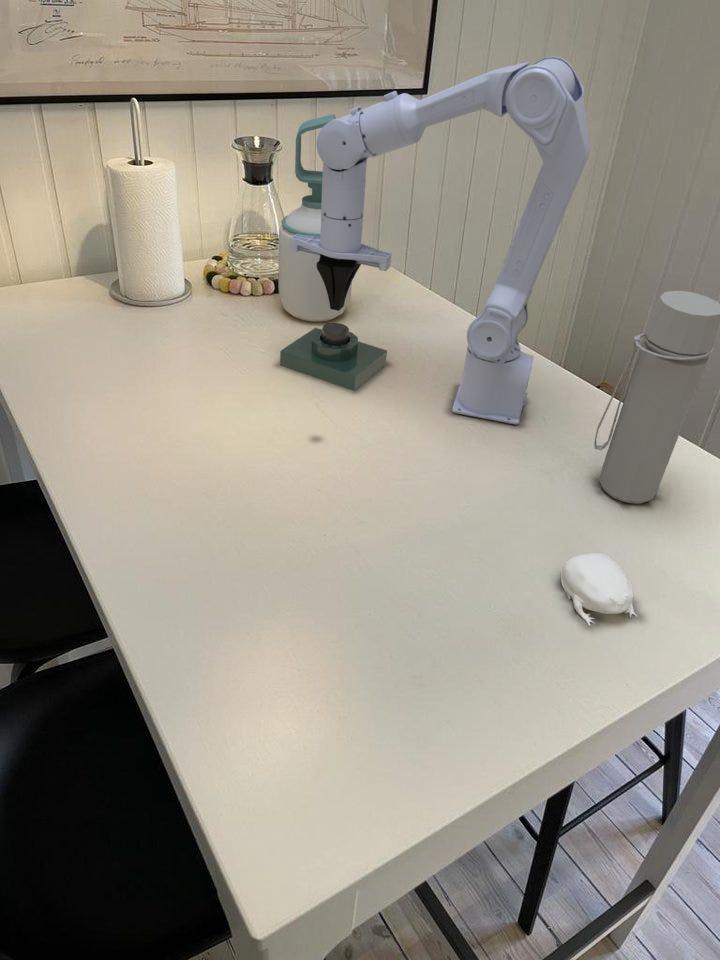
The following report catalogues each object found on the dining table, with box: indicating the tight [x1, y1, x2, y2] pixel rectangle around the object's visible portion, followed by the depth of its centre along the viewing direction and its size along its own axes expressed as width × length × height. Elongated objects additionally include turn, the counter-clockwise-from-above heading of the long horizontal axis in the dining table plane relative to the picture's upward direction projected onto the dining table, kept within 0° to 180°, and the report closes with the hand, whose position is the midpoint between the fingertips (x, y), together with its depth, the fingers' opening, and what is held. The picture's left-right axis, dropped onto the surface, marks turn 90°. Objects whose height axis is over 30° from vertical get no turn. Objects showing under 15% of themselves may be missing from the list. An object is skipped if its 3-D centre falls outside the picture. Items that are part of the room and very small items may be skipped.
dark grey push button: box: [321, 322, 350, 346], centre depth 112 cm, size 4×4×2 cm
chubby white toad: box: [560, 552, 638, 626], centre depth 78 cm, size 8×7×4 cm
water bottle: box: [593, 290, 720, 505], centre depth 88 cm, size 9×8×25 cm
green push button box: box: [279, 327, 388, 392], centre depth 114 cm, size 13×10×4 cm
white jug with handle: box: [278, 113, 353, 323], centre depth 121 cm, size 12×12×31 cm
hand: (337, 307), depth 110 cm, fingers closed
